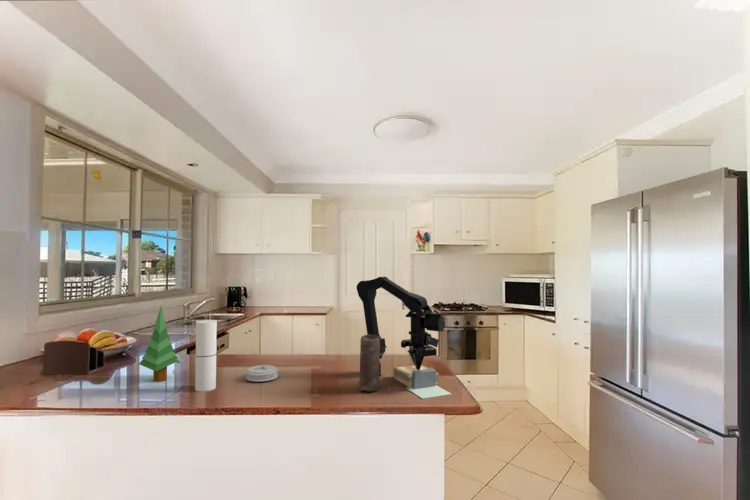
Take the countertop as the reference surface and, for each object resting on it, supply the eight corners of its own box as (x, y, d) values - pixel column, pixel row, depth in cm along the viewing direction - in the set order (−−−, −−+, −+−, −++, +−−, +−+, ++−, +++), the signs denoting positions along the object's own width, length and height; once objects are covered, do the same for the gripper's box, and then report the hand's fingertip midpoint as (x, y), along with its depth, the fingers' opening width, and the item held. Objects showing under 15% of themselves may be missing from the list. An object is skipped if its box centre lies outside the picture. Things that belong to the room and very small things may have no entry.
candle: (382, 388, 151) (382, 334, 151) (376, 394, 144) (376, 338, 144) (363, 386, 153) (363, 333, 154) (356, 392, 146) (356, 337, 147)
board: (409, 387, 151) (409, 377, 152) (393, 377, 164) (393, 367, 164) (439, 383, 156) (439, 373, 156) (421, 374, 169) (421, 364, 169)
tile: (411, 386, 151) (414, 389, 149) (412, 370, 151) (415, 373, 149) (432, 383, 155) (435, 386, 152) (433, 368, 154) (436, 370, 152)
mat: (422, 399, 139) (422, 398, 139) (406, 388, 150) (406, 387, 150) (451, 394, 144) (451, 393, 144) (434, 384, 155) (434, 384, 155)
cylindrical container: (195, 392, 146) (196, 323, 146) (194, 387, 152) (195, 320, 153) (217, 389, 149) (217, 322, 149) (214, 384, 155) (215, 319, 156)
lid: (238, 381, 160) (238, 368, 160) (261, 373, 172) (261, 361, 172) (262, 385, 154) (262, 372, 155) (284, 377, 166) (284, 365, 166)
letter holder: (88, 375, 168) (88, 341, 168) (42, 374, 169) (42, 340, 169) (104, 368, 178) (105, 336, 178) (61, 368, 179) (61, 336, 179)
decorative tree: (132, 380, 160) (133, 305, 160) (173, 372, 171) (174, 302, 172) (144, 388, 150) (145, 308, 151) (187, 379, 162) (188, 304, 162)
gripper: (448, 331, 151) (449, 373, 150) (424, 324, 168) (424, 362, 168) (422, 333, 146) (423, 377, 146) (400, 326, 164) (400, 364, 163)
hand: (418, 369), depth 156 cm, fingers closed
